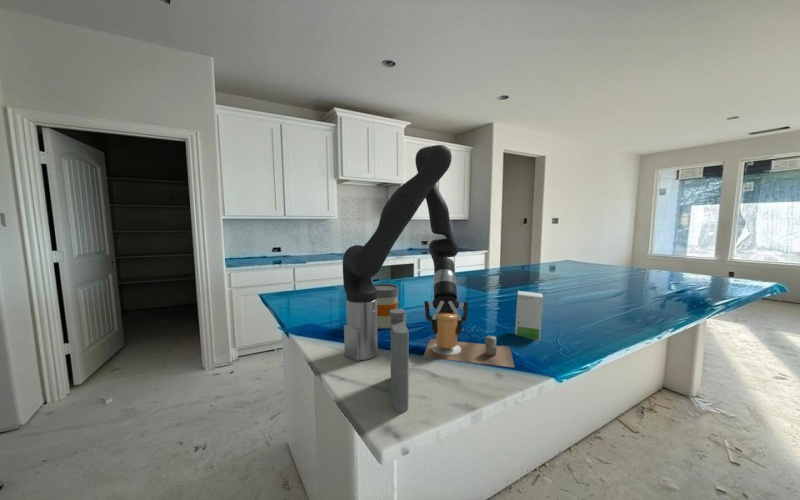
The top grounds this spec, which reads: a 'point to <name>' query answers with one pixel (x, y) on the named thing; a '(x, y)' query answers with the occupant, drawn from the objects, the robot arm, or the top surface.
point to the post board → (473, 352)
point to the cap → (446, 330)
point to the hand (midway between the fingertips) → (447, 333)
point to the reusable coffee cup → (386, 303)
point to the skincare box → (529, 315)
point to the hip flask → (399, 360)
